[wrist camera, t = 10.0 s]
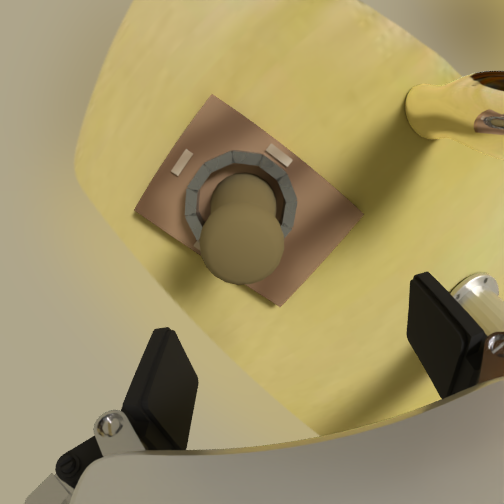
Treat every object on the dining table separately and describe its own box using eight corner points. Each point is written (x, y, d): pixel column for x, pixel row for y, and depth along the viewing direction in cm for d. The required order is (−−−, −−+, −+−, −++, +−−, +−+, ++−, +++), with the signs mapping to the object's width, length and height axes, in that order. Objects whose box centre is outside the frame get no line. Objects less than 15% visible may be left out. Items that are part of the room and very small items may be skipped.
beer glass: (454, 142, 25) (557, 170, 11) (404, 144, 25) (512, 171, 12) (447, 82, 22) (551, 79, 9) (396, 78, 23) (502, 59, 9)
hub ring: (314, 194, 26) (318, 198, 25) (250, 269, 29) (251, 277, 28) (229, 129, 24) (228, 129, 23) (169, 214, 27) (165, 219, 26)
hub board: (359, 210, 28) (364, 214, 27) (279, 300, 32) (280, 308, 31) (213, 95, 24) (211, 93, 22) (138, 206, 28) (133, 210, 26)
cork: (271, 239, 28) (285, 304, 18) (208, 233, 28) (187, 295, 18) (280, 176, 26) (303, 209, 16) (212, 169, 25) (190, 197, 15)
